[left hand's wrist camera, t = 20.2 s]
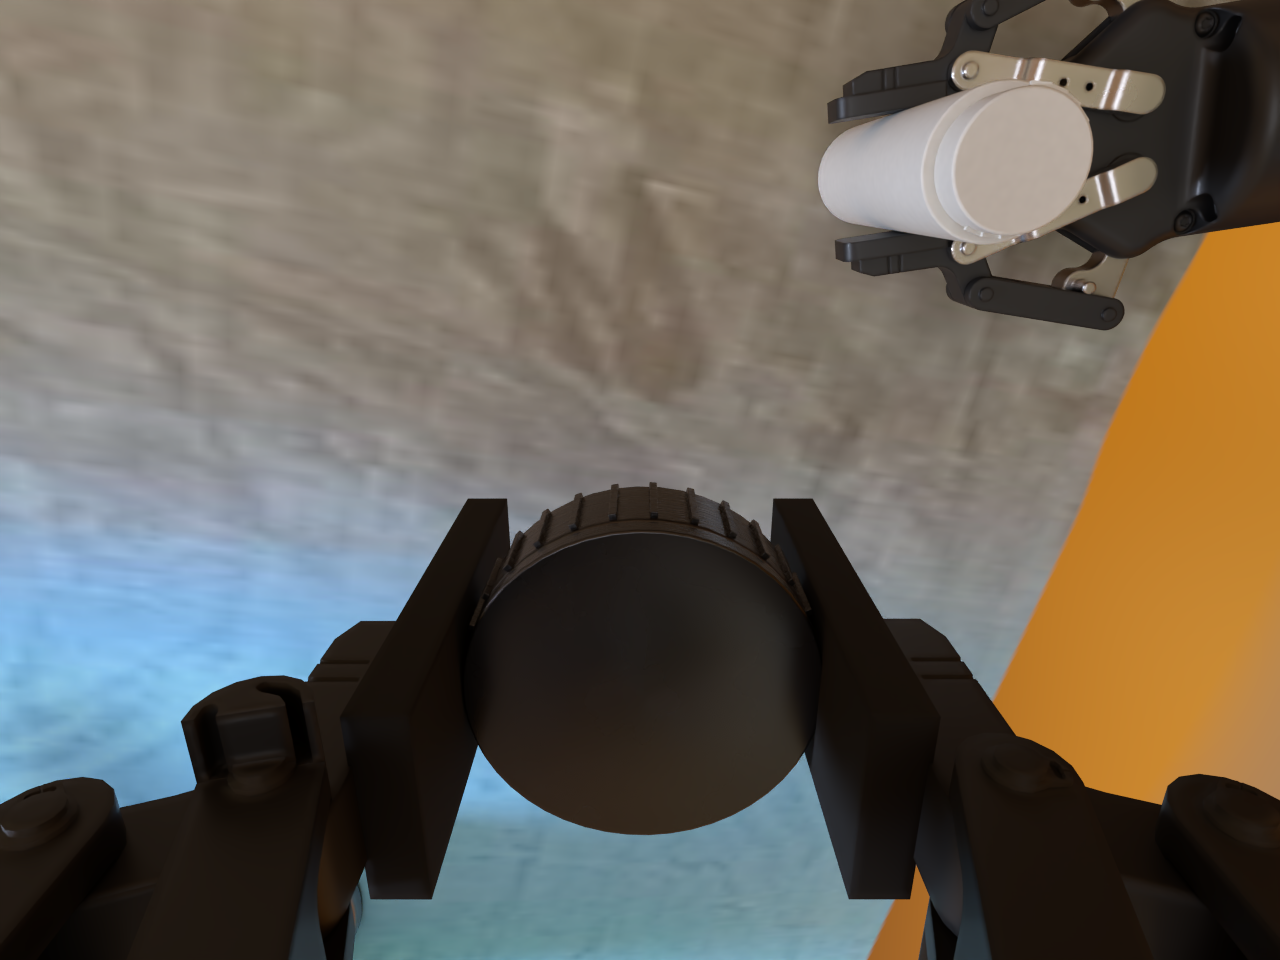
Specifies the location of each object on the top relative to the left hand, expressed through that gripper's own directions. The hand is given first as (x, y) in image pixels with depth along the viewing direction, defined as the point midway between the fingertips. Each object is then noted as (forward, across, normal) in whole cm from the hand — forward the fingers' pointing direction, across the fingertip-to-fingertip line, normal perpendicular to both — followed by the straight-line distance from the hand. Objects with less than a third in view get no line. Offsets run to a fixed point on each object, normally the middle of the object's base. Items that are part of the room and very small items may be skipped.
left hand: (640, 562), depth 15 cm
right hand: (+17, +7, +8) cm, 20 cm away
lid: (-4, 0, 0) cm, 4 cm away
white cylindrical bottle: (+23, +10, +8) cm, 27 cm away
